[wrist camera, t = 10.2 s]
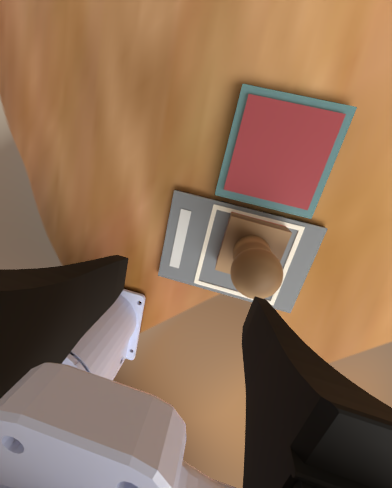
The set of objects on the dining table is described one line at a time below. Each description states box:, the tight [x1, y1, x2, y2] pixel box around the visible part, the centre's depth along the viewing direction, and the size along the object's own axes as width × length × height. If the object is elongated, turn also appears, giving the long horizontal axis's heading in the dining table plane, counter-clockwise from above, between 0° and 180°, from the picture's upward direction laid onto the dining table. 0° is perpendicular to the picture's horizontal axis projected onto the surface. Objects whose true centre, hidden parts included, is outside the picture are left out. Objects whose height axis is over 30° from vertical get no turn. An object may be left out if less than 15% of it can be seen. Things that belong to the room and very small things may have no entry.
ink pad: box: [215, 84, 357, 219], centre depth 18 cm, size 8×8×1 cm
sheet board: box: [158, 190, 327, 313], centre depth 21 cm, size 9×14×1 cm, turn 77°
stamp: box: [215, 212, 292, 299], centre depth 17 cm, size 5×5×8 cm
